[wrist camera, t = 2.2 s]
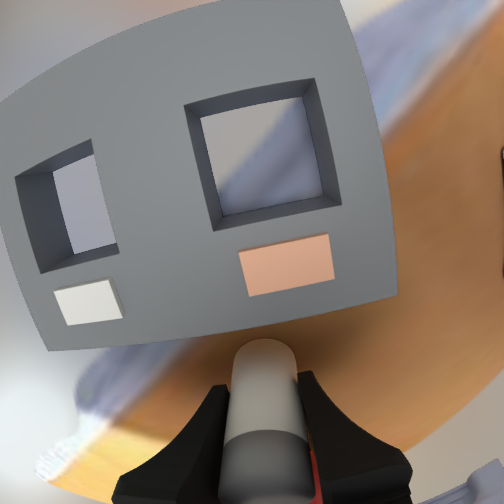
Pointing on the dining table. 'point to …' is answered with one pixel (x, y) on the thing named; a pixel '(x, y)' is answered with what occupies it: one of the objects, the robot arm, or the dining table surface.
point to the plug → (265, 430)
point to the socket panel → (195, 180)
